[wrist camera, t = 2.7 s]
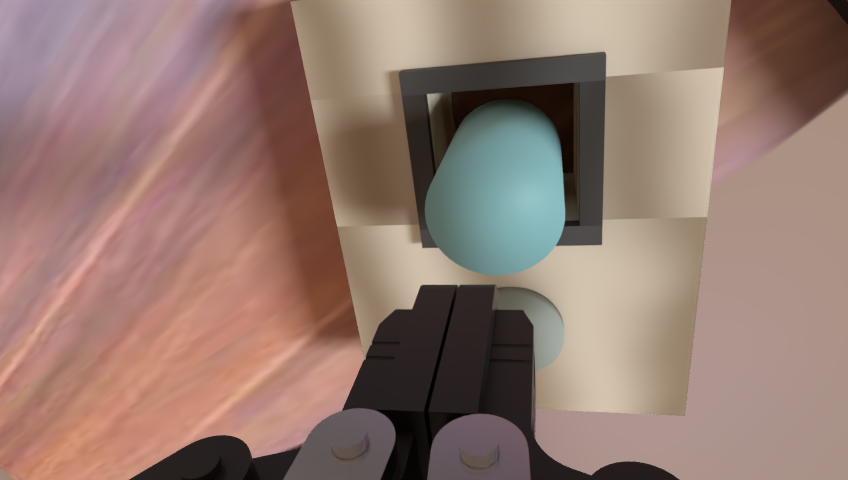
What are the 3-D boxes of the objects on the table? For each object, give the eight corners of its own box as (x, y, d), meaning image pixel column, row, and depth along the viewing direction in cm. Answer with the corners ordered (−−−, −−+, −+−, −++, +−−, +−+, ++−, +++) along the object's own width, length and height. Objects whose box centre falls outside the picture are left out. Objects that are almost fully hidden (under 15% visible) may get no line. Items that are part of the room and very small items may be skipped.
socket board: (697, -55, 21) (743, -53, 16) (664, 344, 29) (688, 426, 24) (337, -10, 24) (282, 3, 19) (397, 338, 32) (369, 410, 27)
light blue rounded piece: (560, 94, 20) (564, 143, 15) (562, 200, 21) (565, 275, 17) (447, 103, 21) (416, 152, 16) (457, 204, 22) (433, 275, 18)
